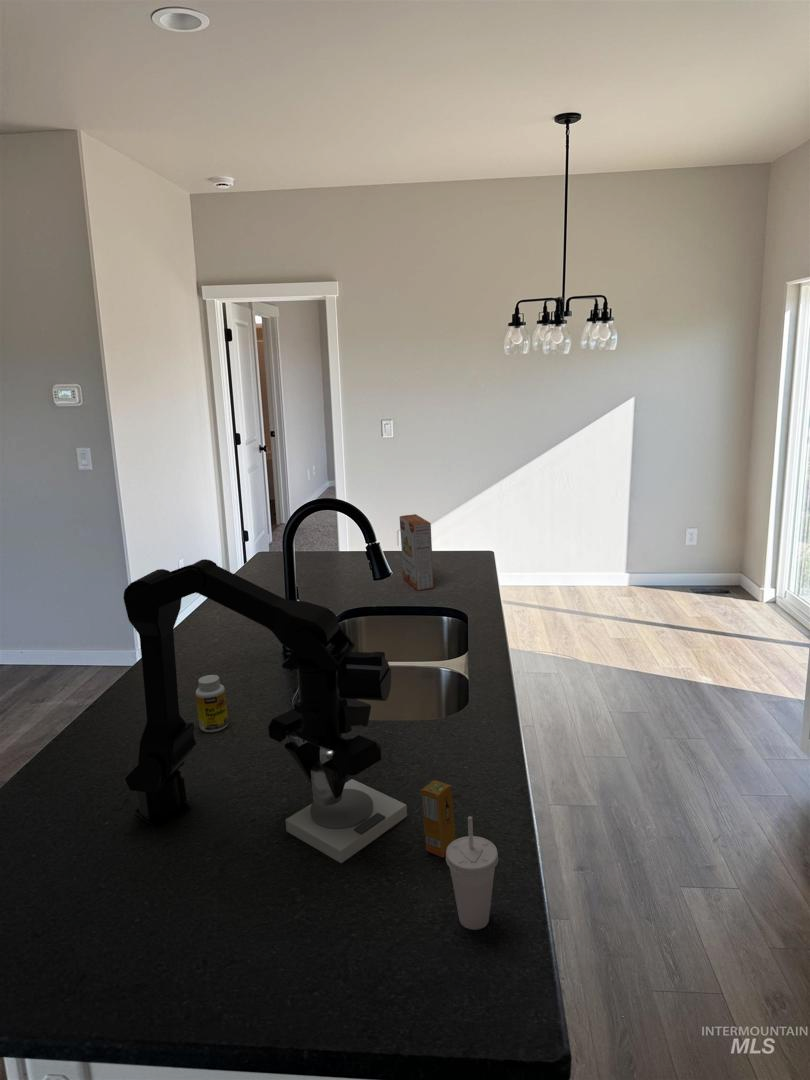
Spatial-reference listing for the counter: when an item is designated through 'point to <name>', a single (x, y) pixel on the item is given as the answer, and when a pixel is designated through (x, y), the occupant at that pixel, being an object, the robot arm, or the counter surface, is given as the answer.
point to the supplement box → (438, 817)
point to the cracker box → (416, 551)
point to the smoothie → (472, 877)
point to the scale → (347, 821)
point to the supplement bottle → (211, 704)
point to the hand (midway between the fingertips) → (327, 791)
